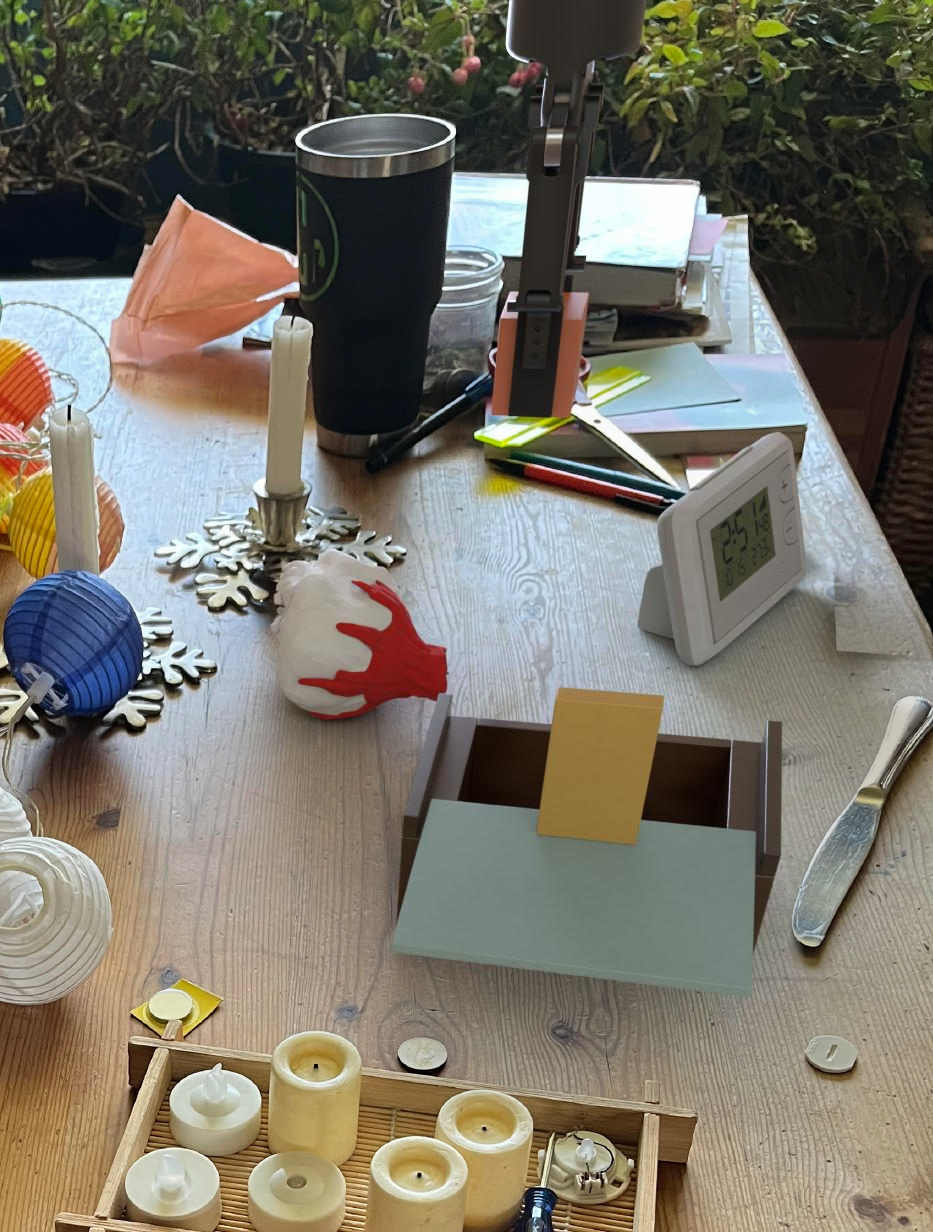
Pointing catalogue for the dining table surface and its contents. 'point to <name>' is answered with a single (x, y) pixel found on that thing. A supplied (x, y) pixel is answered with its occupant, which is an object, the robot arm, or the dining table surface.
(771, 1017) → the dining table surface
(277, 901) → the dining table surface
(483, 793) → the case
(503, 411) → the block
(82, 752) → the dining table surface
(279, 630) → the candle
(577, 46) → the robot arm
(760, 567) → the digital clock
